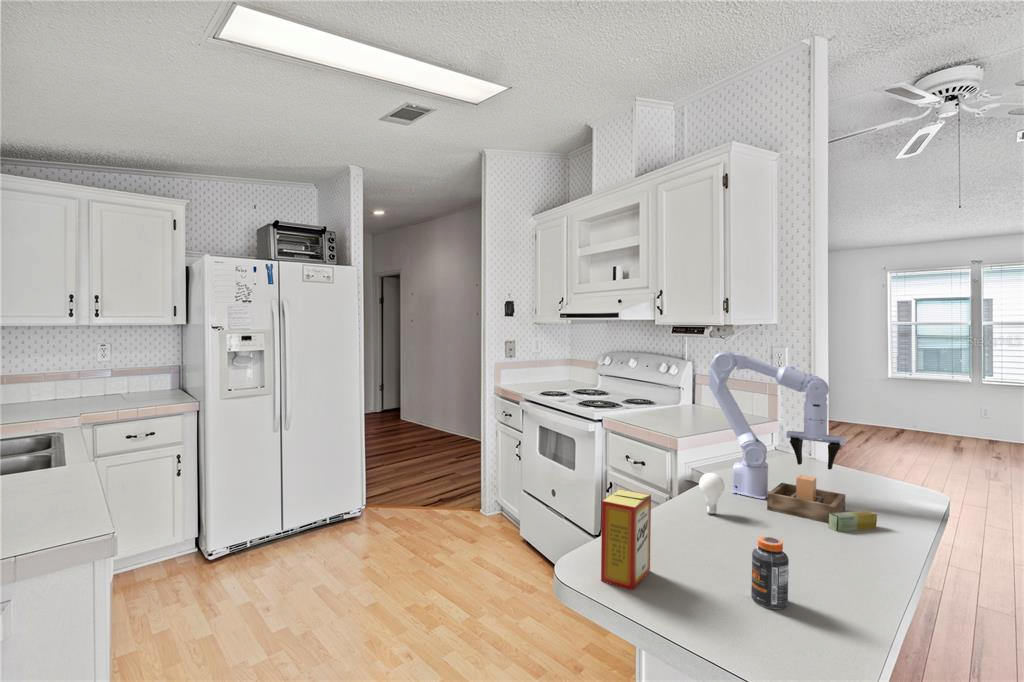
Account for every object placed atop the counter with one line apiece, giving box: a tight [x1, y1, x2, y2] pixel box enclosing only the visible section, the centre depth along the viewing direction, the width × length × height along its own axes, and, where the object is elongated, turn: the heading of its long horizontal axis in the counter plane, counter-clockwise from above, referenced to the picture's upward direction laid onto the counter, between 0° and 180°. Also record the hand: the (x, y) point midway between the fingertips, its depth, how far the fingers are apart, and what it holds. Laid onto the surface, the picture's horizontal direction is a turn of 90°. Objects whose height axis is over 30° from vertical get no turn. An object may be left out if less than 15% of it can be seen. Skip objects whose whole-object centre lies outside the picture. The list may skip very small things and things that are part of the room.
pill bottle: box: [750, 535, 790, 610], centre depth 94 cm, size 6×6×11 cm
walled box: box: [766, 482, 846, 524], centre depth 142 cm, size 16×14×4 cm
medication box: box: [827, 510, 878, 532], centre depth 129 cm, size 12×3×4 cm, turn 102°
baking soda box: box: [600, 488, 652, 591], centre depth 103 cm, size 10×6×16 cm
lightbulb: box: [698, 472, 726, 515], centre depth 139 cm, size 6×6×11 cm
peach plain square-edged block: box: [795, 474, 817, 502], centre depth 142 cm, size 4×4×8 cm
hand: (814, 466), depth 149 cm, fingers open, 7 cm apart
